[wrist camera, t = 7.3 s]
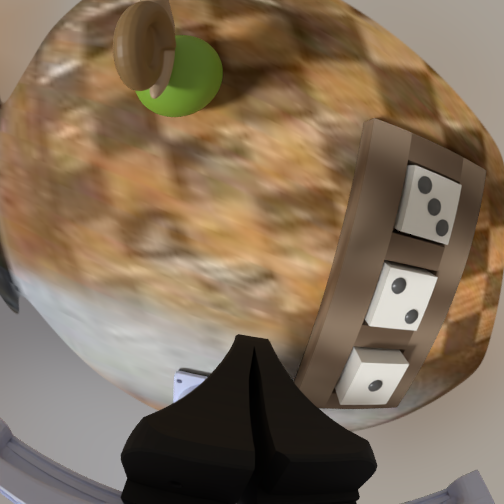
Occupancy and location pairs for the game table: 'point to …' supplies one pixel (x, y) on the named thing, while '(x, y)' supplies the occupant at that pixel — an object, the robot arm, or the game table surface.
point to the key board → (387, 248)
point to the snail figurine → (164, 61)
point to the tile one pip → (370, 376)
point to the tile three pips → (427, 205)
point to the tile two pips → (400, 296)
